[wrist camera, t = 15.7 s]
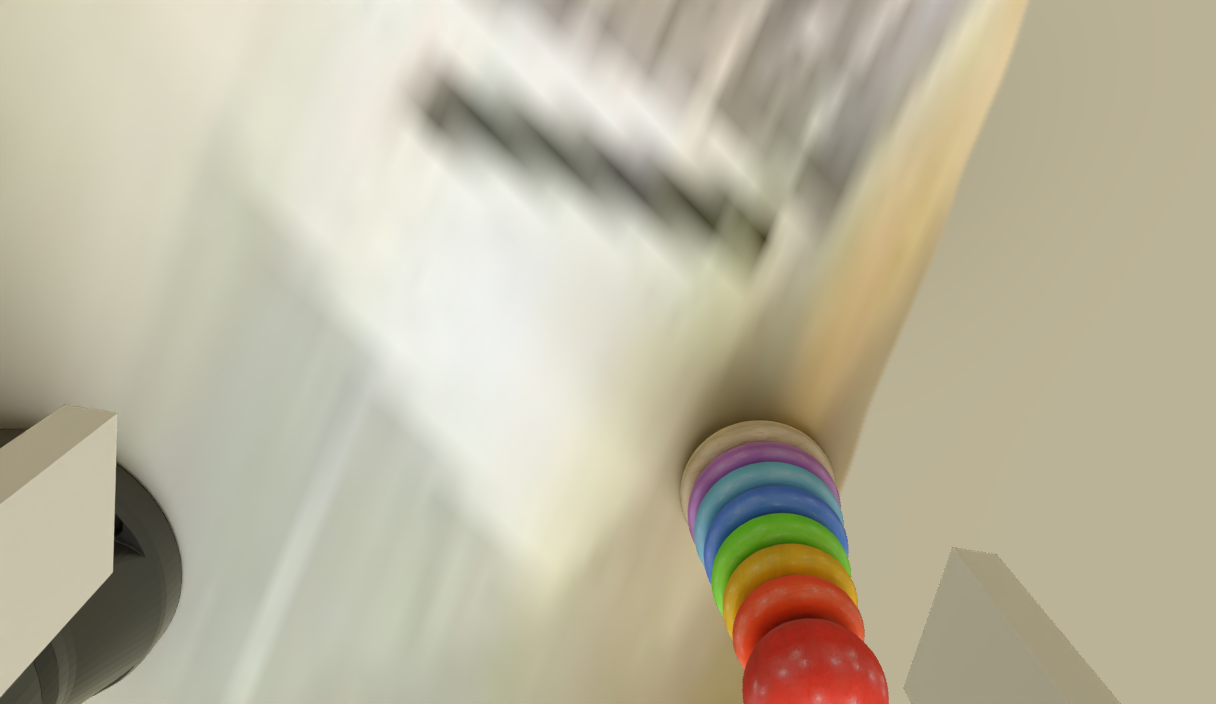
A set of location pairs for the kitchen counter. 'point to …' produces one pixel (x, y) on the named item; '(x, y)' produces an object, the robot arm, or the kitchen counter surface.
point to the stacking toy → (780, 565)
